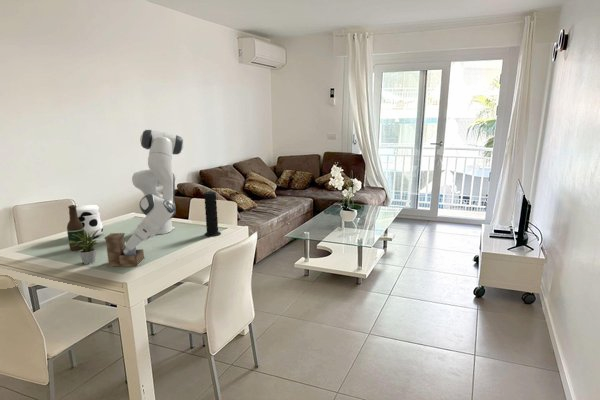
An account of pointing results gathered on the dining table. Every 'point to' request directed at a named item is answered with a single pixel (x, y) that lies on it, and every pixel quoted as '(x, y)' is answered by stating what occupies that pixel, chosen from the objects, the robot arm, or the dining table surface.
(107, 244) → the brown l-shaped block
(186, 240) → the dining table surface
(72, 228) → the beer bottle
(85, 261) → the house plant
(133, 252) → the rail end
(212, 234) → the handle grip
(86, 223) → the milk container
